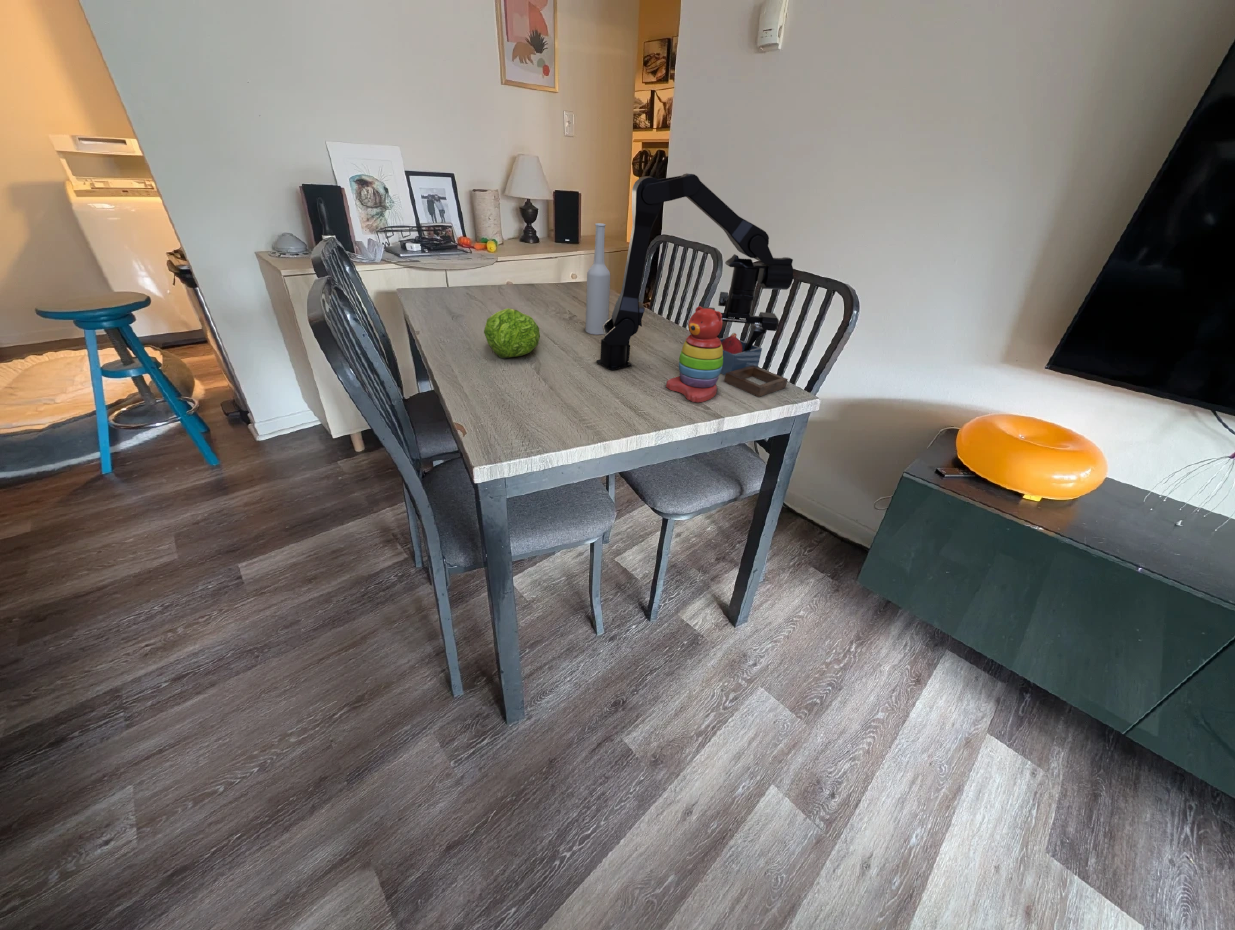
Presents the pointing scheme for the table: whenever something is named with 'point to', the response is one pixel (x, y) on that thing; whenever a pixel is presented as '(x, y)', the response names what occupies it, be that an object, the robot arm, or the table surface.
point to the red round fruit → (732, 344)
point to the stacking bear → (700, 357)
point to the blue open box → (740, 358)
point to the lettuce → (511, 333)
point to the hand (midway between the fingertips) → (730, 353)
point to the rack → (771, 386)
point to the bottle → (597, 287)
